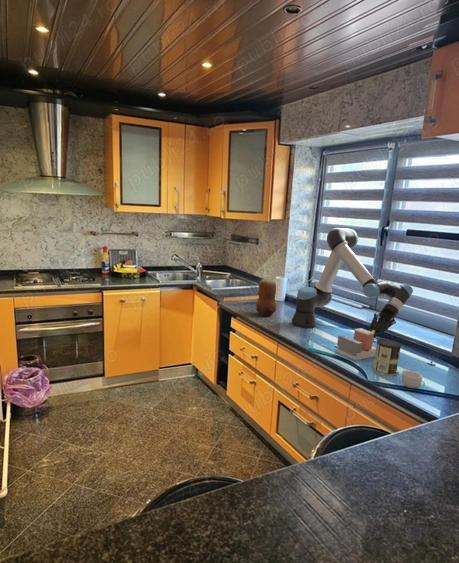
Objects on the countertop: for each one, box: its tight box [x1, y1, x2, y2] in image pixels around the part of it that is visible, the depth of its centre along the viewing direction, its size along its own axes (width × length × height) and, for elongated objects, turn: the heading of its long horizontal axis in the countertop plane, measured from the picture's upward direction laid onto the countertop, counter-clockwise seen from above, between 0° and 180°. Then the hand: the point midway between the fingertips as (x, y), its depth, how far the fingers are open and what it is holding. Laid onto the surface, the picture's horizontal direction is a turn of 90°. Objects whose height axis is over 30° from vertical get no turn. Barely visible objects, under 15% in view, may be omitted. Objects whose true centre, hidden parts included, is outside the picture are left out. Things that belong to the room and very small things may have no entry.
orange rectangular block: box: [353, 327, 374, 351], centre depth 196 cm, size 5×8×10 cm, turn 31°
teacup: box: [401, 369, 426, 389], centre depth 160 cm, size 10×8×5 cm
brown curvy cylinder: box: [255, 278, 277, 317], centre depth 255 cm, size 14×13×25 cm
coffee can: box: [372, 338, 402, 377], centre depth 173 cm, size 10×10×14 cm
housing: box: [336, 334, 376, 361], centre depth 197 cm, size 22×13×8 cm, turn 121°
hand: (367, 340), depth 198 cm, fingers closed
